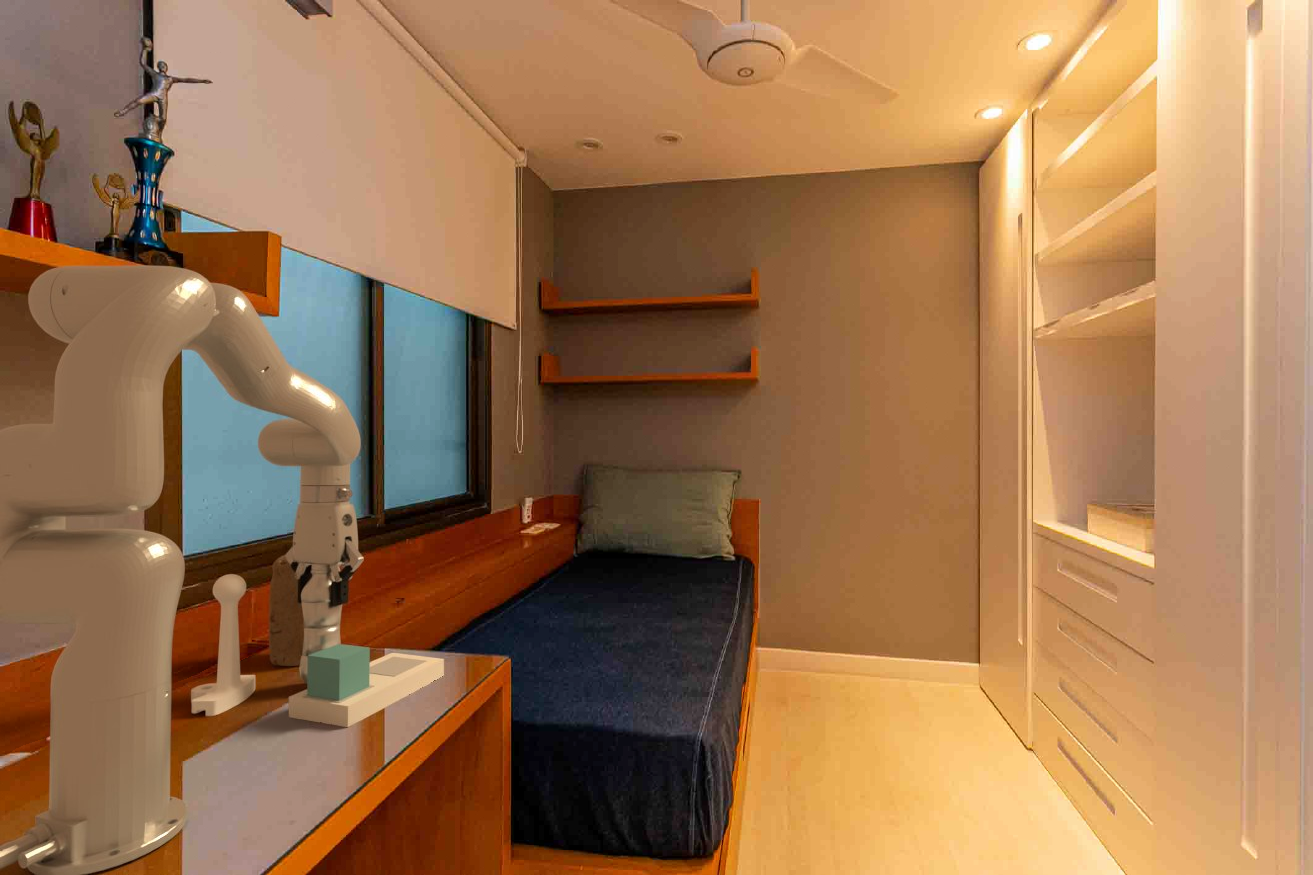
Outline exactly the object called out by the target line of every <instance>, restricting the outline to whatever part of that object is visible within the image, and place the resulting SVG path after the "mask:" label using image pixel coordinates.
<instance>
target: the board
mask: <svg viewBox="0 0 1313 875" xmlns="http://www.w3.org/2000/svg"><path fill="white" fill-rule="evenodd" d="M442 676H443V677H444V676H445V658H439V657H430V656H424V655H415V654H414V655H413V654H406V653H398V652H391V653H388V654H386V655H383V656H382V657H379V658H377V659H374V660H372V661H370V672H369V687H367V688H365V689H363V690H361V691H359V692H357V693H355V694H353V695H351V696H349V697H346V698H344V699H342V700H340V701H337V700H330V699H324V698H318V697H311V696H307V688H306V689H304V690H302V691H298V692H296V693H295V694H292V695H290V696H288V718H291V719H297V720H303V721H309V722H314V723H320V722H322V723H321V724H327V725H331V724H332V726H338V727H343V728H350V727H352V726H353V725H356V724H358V723H359V722H361V721H363V720H364V719H366V718H368V717H370V716H372V715H374V714H376V713H378V712H379V711H381V710H383V709H385V708H387V707H389V706H390V705H392V704H394V703H396V702H399V701H400V700H403V699H404V698H406V697H407V696H410V695H411V694H413V693H415V692H417V691H419V690H420V688H421V689H423V688H424V687H426V686H429V685H431V684H432V683H434V682H435V681H434V680H436V681H437V679H438V680H439V678H440V677H441V678H443V677H442ZM441 678H440V679H441ZM433 681H434V682H433ZM431 682H432V683H431ZM422 687H423V688H422ZM409 694H410V695H409Z"/></svg>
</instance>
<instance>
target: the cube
mask: <svg viewBox="0 0 1313 875" xmlns="http://www.w3.org/2000/svg"><path fill="white" fill-rule="evenodd" d="M370 649H371V648H370V647H367V646H358V645H353V644H352V645H351V644H343V643H341V644H337V645H334V646H332V647H329V648H326V649H324V650H321V651H318V652H315V653H313V654H310V655H308V665H307V683H306V684H307V685H306V686H307V688H306V689H307V696H311V697H318V698H324V699H330V700H337V701H340V700H342V699H344V698H346V697H349V696H351V695H353V694H355V693H357V692H359V691H361V690H363V689H365V688H367V687H369V672H370V662H371V661H370V660H371V657H370V652H371V651H370Z"/></svg>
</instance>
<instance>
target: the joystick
mask: <svg viewBox="0 0 1313 875" xmlns="http://www.w3.org/2000/svg"><path fill="white" fill-rule="evenodd" d="M246 590H247V583H246V581H245V579H244V578H243V577H242V576H241V575H238V574H234V573H229V574H224V575H223V576H220V577H218V578H217V579H216V581H215V582H214V584H213V587H212V595H213V597H214V598H215V599H216V600H217V602H219V604H220V623H219V624H220V625H219V638H218V639H219V640H218V641H219V642H218V655H217V656H218V657H217V674H216V682H213V683H212V682H211V683H204V684H201V685H197V686H195V687H192V688H191V689H190V690H191V691H190V703H191V714H198V713H200V712H203V711H205V717H213V716H214V717H215V716H216V715H220V714H222V713H225V712H226V711H229V710H230V709H232V708H235V707H236V706H238V705H239V704H241V703H242V702H245V701H246V700H247V699H248V698H249V697H251V695H252V694H253V693H254V692H255V690H256V674H241V660H240V658H241V657H240V630H239V608H238V607H239V606H238V605H239V602H240V600H241V599H242V598H243V597H244V596H245V594H246Z"/></svg>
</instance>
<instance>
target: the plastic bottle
mask: <svg viewBox="0 0 1313 875" xmlns="http://www.w3.org/2000/svg"><path fill="white" fill-rule="evenodd" d="M311 573H312V574H313V575H312V577H311V579H310V580H309V581H308V582H307V584H306V585H305V587H304V588H303V590H302V593H301V601H302V610H303V617H304V627H305V628H304V642H303V652H302V656H301V660H300V665H298V667H299V668H298V670H299V676H300V678H301V680H302V682H304V683H306V684H307V665H308V655H310V654H313V653H315V652H318V651H321V650H324V649H326V648H329V647H332V646H334V645H337V644H342V643H341V631H340V630H341V621H342V620H341V618H342V611H343V610H342V609H343V605H344V604H342V605H338V606H331V582H334V581H335V580H334V577H333V574H332V570H331V567H330V565H322V564H318V563H312V568H311Z"/></svg>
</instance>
